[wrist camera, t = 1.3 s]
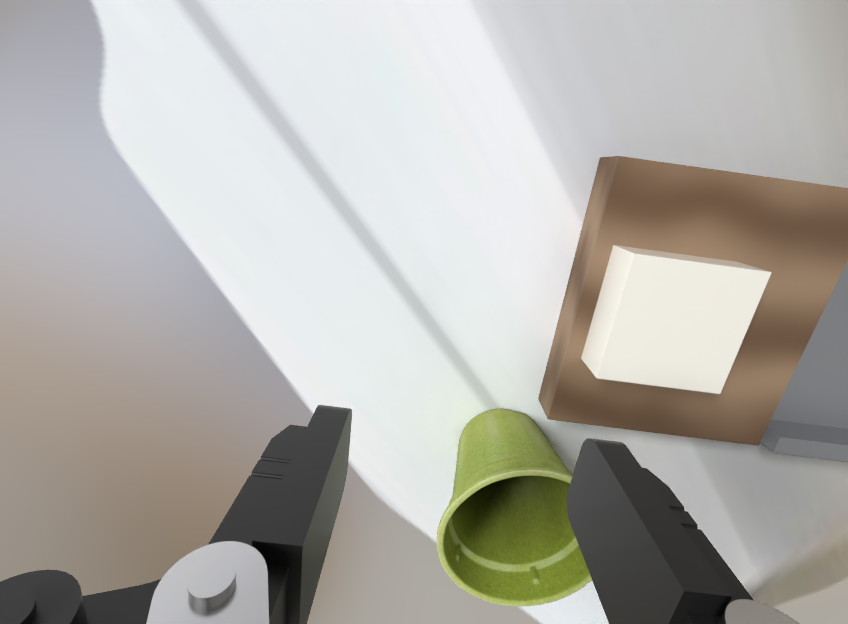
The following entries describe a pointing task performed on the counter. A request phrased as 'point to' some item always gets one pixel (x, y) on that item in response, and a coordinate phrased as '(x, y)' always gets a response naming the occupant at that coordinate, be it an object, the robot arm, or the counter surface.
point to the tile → (671, 318)
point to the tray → (817, 390)
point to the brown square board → (712, 238)
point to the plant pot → (510, 516)
